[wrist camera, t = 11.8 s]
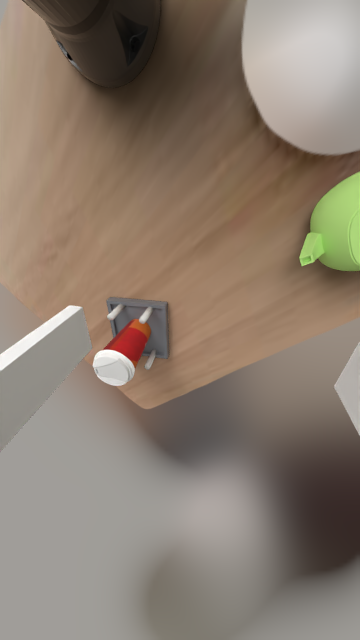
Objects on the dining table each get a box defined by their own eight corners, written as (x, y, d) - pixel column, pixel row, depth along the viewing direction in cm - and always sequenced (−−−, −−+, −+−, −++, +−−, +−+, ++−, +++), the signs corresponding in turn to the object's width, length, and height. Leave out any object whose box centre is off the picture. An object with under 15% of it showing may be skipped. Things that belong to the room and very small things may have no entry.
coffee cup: (129, 343, 56) (99, 387, 43) (119, 315, 52) (83, 354, 39) (159, 342, 54) (137, 388, 41) (151, 313, 50) (124, 354, 37)
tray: (110, 297, 51) (94, 310, 45) (167, 301, 49) (158, 317, 43) (119, 347, 59) (106, 365, 53) (169, 353, 57) (161, 373, 50)
